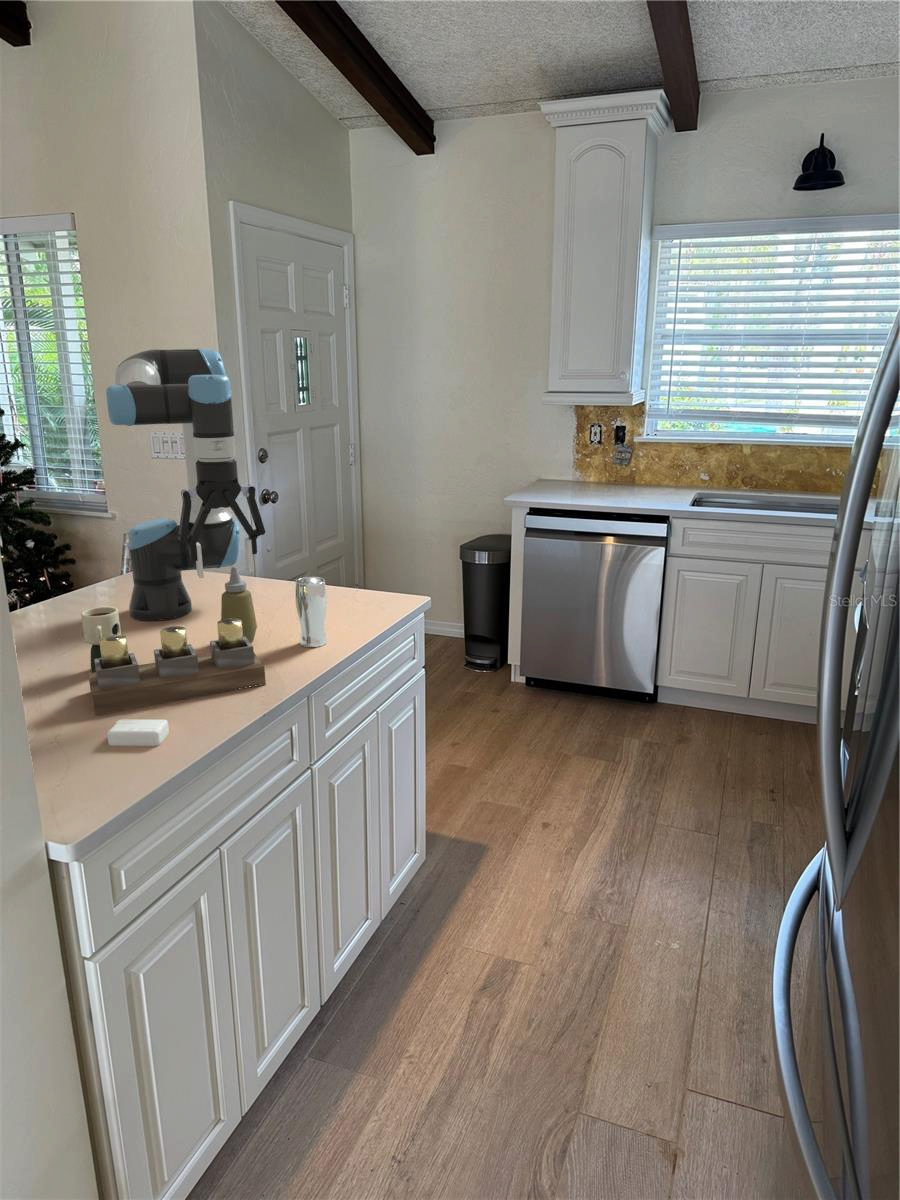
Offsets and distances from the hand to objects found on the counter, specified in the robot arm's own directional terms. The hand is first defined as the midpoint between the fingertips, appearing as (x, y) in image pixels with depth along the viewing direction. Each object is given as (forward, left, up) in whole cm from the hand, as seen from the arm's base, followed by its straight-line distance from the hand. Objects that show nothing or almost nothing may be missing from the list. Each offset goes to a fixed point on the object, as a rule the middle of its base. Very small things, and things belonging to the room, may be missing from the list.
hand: (225, 573), depth 163 cm
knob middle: (0, -11, -15) cm, 19 cm away
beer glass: (-13, +21, -23) cm, 33 cm away
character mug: (-17, -23, -23) cm, 36 cm away
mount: (0, -11, -22) cm, 25 cm away
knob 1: (0, -22, -15) cm, 27 cm away
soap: (+20, -21, -23) cm, 37 cm away
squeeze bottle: (-21, +6, -23) cm, 31 cm away
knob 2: (0, 0, -15) cm, 15 cm away
